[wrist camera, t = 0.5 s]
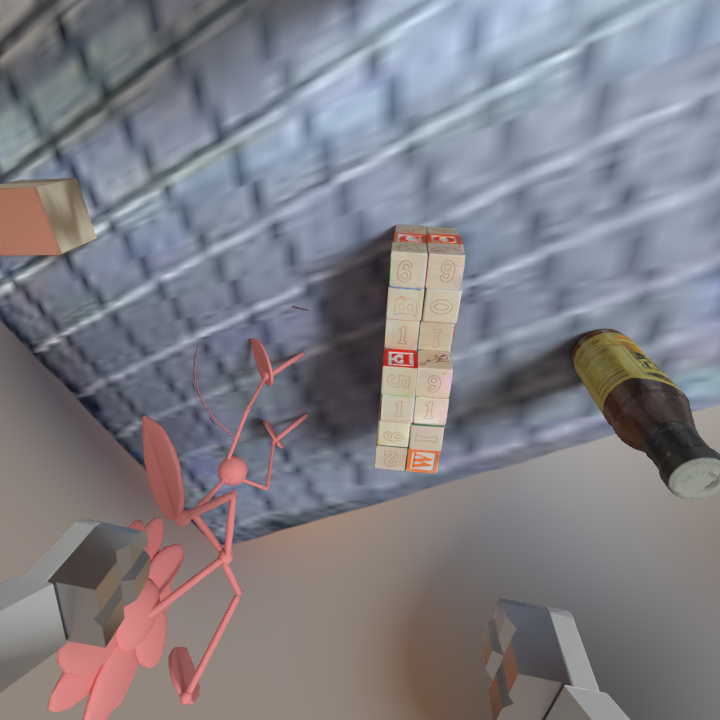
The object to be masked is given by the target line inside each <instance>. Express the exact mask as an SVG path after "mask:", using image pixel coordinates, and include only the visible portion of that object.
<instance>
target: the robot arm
mask: <svg viewBox="0 0 720 720" xmlns="http://www.w3.org/2000/svg"><path fill="white" fill-rule="evenodd" d="M148 543H149V541H148V535H147V532H145V531H141V530H136V529H131V528H127V527H122V526H118V525H113V524H109V523H104V522H99V521H94V520H89V519H84V518H82V519H80V520H78V521H76V522H74V523H73V524H72V525H71V526H70V527H69V528H68V529H67V530H66V532H65V533H64V534H63V535H62V536H61V537H60V538H59V539H58V540H57V541H56V542H55V543H54V544H53V545H52V546H51V547H50V548H49V549H48V550H47V551H46V553H45V554H44V555H43V556H42V557H41V558H40V559H39V560H38V561H37V562H36V563H35V564H34V565H33V566H32V567H31V568H30V569H29V570H28V571H27V573H25V575H24V576H23V577H20V576H14V577H12V578H10V579H8V580H6V581H4V582H2V583H0V693H1V692H2V691H3V690H5V689H6V688H8V687H9V686H10V685H12V684H13V683H14V682H16V681H17V680H18V679H20V678H21V677H23V676H24V675H25V674H27V673H28V672H29V671H31V670H32V669H33V668H35V667H36V666H37V665H39V664H40V663H41V662H43V661H44V660H45V659H47V658H48V657H50V656H51V655H52V654H54V653H55V652H56V651H58V650H59V649H60V648H62V647H63V646H64V645H66V644H67V641H69V642H75V643H81V644H87V645H93V646H99V647H104V648H106V647H107V645H108V643H109V642H110V640H111V639H112V637H113V636H114V634H115V633H116V631H117V629H118V628H119V626H120V625H121V623H122V622H123V620H124V619H125V616H124V607H126V606H127V605H129V604H130V603H132V602H134V601H135V600H137V598H138V596H139V595H140V593H141V592H142V590H143V588H144V586H145V583H146V581H147V578H148V576H149V572H150V565H151V562H150V556H149V555H148V553H147V552H146V551H145V550H144V549H145V547H146V546H147V544H148ZM493 610H494V616H495V618H494V619H492V620H490V621H489V622H488V623H487V626H486V629H485V633H484V641H483V655H484V656H483V657H484V664H485V669H486V671H487V672H488V674H489V675H490V677H491V678H492V679H493V681H492V684H491V686H490V689H489V691H488V692H489V699H490V706H491V713H492V720H630V719H629V718H628V717H627V716H626V715H625V713H624V712H623V711H622V710H621V709H620V708H619V707H618V706H617V704H616V703H615V702H614V701H613V700H612V699H611V697H610V696H609V695H608V694H607V693H603V692H600V691H599V689H598V686H597V683H596V680H595V678H594V675H593V672H592V669H591V667H590V664H589V661H588V659H587V655H586V653H585V650H584V647H583V644H582V642H581V639H580V636H579V633H578V630H577V628H576V625H575V622H574V619H573V617H572V615H571V614H570V613H569V611H564V610H560V609H554V608H549V607H543V606H541V605H535V604H529V603H523V602H518V601H513V600H507V599H501V598H499V599H498V600H497V601H496V603H495V605H494V608H493Z"/></svg>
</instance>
